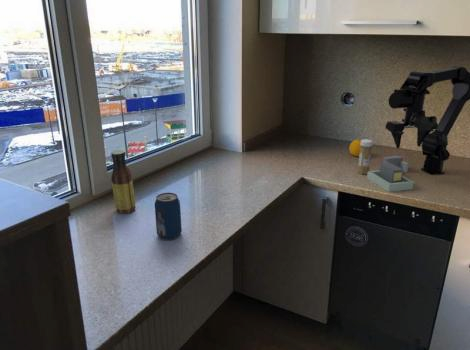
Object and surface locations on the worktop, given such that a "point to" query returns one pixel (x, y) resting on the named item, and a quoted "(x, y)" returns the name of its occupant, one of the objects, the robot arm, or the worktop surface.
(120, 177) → the sauce bottle
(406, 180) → the tray
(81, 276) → the worktop surface
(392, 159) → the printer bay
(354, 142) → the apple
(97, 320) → the worktop surface
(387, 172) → the grey block
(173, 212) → the soda can
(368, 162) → the sprinkles bottle
